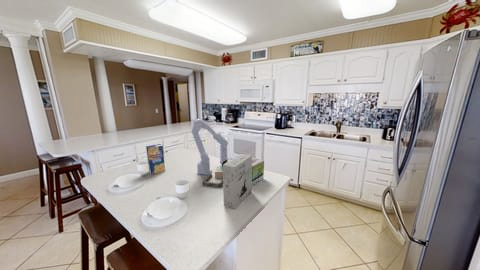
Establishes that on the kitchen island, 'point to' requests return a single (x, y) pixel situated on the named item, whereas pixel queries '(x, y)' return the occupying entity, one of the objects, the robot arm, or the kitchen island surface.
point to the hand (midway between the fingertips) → (224, 168)
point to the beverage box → (155, 158)
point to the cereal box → (237, 180)
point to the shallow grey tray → (206, 183)
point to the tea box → (257, 170)
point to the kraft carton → (219, 172)
